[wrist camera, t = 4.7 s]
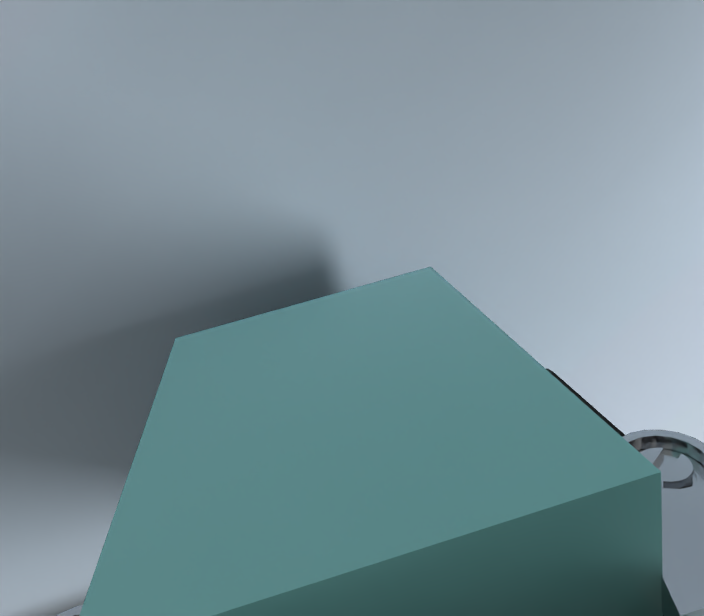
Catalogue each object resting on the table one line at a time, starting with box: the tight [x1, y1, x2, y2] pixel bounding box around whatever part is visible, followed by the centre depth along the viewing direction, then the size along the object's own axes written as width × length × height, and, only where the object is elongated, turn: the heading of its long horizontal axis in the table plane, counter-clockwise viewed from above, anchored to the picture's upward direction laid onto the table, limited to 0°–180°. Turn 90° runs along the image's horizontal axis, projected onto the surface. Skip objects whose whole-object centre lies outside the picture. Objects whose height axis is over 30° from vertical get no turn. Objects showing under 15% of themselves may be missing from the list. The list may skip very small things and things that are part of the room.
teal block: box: [79, 267, 663, 616], centre depth 8 cm, size 5×5×7 cm
